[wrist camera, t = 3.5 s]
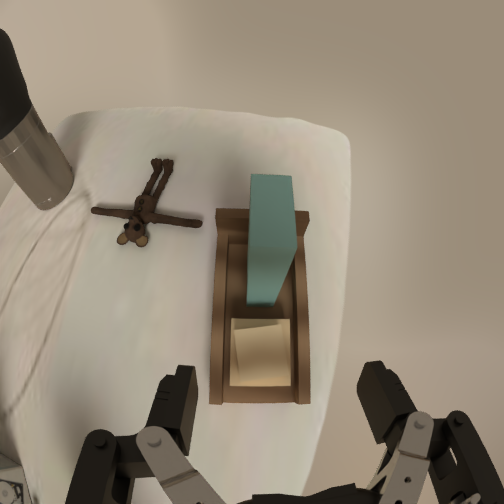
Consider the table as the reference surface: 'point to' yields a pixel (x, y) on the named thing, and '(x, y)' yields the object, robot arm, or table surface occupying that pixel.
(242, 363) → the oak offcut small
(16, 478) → the hard drive box
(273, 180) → the teal board
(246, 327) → the oak offcut large
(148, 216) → the long-limbed plush toy
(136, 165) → the table surface
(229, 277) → the walnut rack
